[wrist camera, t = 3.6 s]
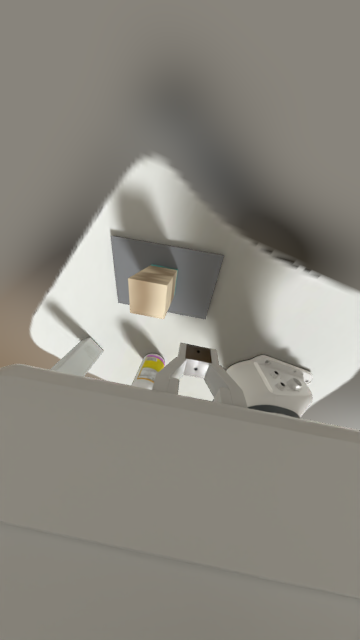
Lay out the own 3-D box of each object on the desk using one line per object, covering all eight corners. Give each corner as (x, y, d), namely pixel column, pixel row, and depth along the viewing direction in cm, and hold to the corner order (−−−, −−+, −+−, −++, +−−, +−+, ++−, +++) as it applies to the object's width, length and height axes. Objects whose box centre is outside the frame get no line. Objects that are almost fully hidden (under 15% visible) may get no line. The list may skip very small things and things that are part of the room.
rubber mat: (223, 255, 24) (223, 255, 23) (205, 316, 31) (205, 319, 30) (113, 235, 24) (110, 235, 24) (120, 300, 31) (118, 302, 31)
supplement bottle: (155, 370, 43) (140, 415, 32) (139, 358, 41) (118, 401, 30) (170, 362, 41) (159, 408, 30) (154, 348, 38) (136, 393, 27)
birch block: (178, 269, 25) (167, 285, 17) (174, 294, 28) (163, 319, 19) (152, 264, 25) (128, 278, 17) (151, 289, 28) (130, 312, 20)
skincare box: (81, 340, 40) (40, 375, 30) (91, 336, 39) (52, 371, 29) (95, 354, 43) (62, 391, 33) (105, 351, 41) (74, 388, 31)
